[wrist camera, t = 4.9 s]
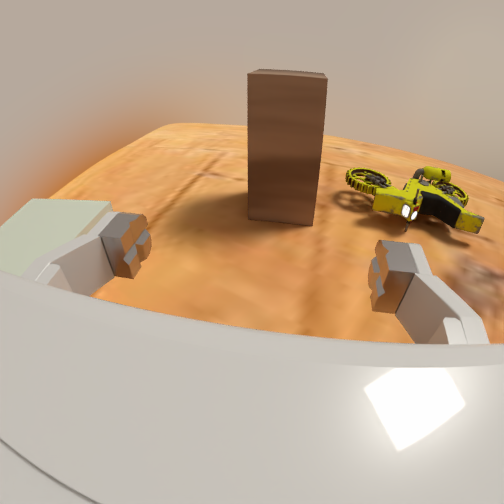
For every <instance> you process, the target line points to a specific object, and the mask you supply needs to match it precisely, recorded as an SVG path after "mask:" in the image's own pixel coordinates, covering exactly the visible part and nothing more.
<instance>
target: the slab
mask: <svg viewBox="0 0 504 504" xmlns="http://www.w3.org/2000/svg"><path fill="white" fill-rule="evenodd" d="M107 212H113V209H112V205H111V201H91V200H64V199H31V200H30V201H29V202H28V203H27V204H25V205H24V206H23V207H22V208H21V209H20V210H18V211H17V212H16V213H15V214H14V215H13V216H12V217H11V218H10V219H8V220H7V221H6V222H5V223H4V224H3V225H2V226H1V227H0V270H1V271H4V272H7V273H10V274H13V275H17V276H21V275H22V274H23V273H24V272H25V271H26V269H27V268H28V267H29V266H30V265H31V263H32V262H33V261H34V260H35V259H36V258H38V257H40V256H42V255H44V254H46V253H48V252H49V251H51V250H53V249H55V248H57V247H59V246H61V245H63V244H65V243H67V242H69V241H71V240H73V239H75V238H77V237H79V236H81V235H83V234H85V235H87V234H88V232H89V231H90V230H91V229H92V228H93V227H94V226H95V225H96V224H97V223H98V222H99V221H100V220H101V219H102V218H103V217H104V216H105V214H106V213H107Z"/></svg>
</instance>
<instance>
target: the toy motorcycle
mask: <svg viewBox="0 0 504 504" xmlns="http://www.w3.org/2000/svg"><path fill="white" fill-rule="evenodd" d="M421 174H422V175H421ZM420 175H421V179H419V177H420ZM358 176H365V178H361V177H358ZM423 176H424V177H425V178H426V179H430V181H425V180H422V179H423ZM356 179H360V180H362V181H364V183H362V182H360V181H358V180H356ZM432 180H435V181H433V182H432V185H431V181H432ZM450 180H451V173H450V171H449V170H445V169H440V168H435V167H430V166H426V167H424V168H422V169H418V170H417V171H416V172H415V174H414V176H413V178H410V179H409V181H408V183H406V184H405V186H404V188H403V190H398V189H397V188H395V187H394V186H391V182H390V180H389V179H388V177H386V176H385V175H384V174H381V173H380V172H377V171H375V170H371V169H366V168H359V167H358V168H353V169H350V170H348V171H347V173H346V182H347V184H348V185H350V187H351V188H352V187H353V188H354V189H355V190H358V191H360V192H364V193H366V194H372V195H374V196H375V197H374V202H373V206H372V210H374V211H379V212H384V213H389V214H394V215H399V216H402V217H404V218H405V219H406V220H407V222H406V223H407V224H406V227H405V232H406V231H407V228H408V225H409V224H410V223H411V222H412V220H414V219H416V216H417V214H426V215H433V216H435V217H437V218H439V219H440V220H442V221H443V222H445V223H446V224H448V225H449V226H451V227H452V228H456V229H460V230H464V231H468V232H472V233H475V234H478V233H479V231H480V228H481V226H482V224H483V222H484V217H481V216H479V215H476V214H474V213H471V212H468V211H466V210H465V209H464V207H465V205H467V202H468V199H469V197H468V195H466V193H465V192H464V190H462V189H461V188H460V187H458V186H456V185H454V184H452V183H449V182H450ZM371 184H373V185H371ZM374 185H375V186H374ZM455 194H457V195H458V196H459V197H457V196H456V195H455ZM452 196H453V197H452Z"/></svg>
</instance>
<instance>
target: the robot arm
mask: <svg viewBox="0 0 504 504" xmlns="http://www.w3.org/2000/svg"><path fill="white" fill-rule="evenodd" d="M147 225H148V223H147V219H146V217H145V216H144V215H143V214H134V213H124V212H107V213H106V214H105V216H104V217H103V218H102V219H101V220H100V221H99V222H98V223H97V224H96V225H95V226H94V227H93V228H92V229H91V230H90V231H89V232H88V234H87V235H85V234H83V235H81V236H79V237H77V238H75V239H73V240H71V241H69V242H67V243H65V244H63V245H61V246H59V247H57V248H55V249H53V250H51V251H49V252H48V253H46V254H44V255H42V256H40V257H38V258H36V259H35V260H34V261H33V262H32V263H31V265H30V266H29V267H28V268H27V269H26V271H25V272H24V273H23V274H22V275H21V276H17V275H13V274H10V273H7V272H4V271H1V270H0V504H504V344H490V343H489V340H488V337H487V334H486V331H485V328H484V325H483V322H482V319H481V318H480V317H479V316H478V315H477V314H476V313H475V312H474V311H473V310H472V309H471V308H470V307H469V306H468V305H467V304H466V303H465V302H464V301H463V300H462V299H461V298H460V297H459V296H458V295H457V294H456V293H455V292H454V291H452V290H451V289H450V288H449V287H448V286H447V285H446V284H445V283H444V282H443V281H442V280H440V279H439V278H438V277H437V276H433V275H432V272H431V269H430V267H429V264H428V262H427V259H426V257H425V254H424V252H423V249H422V247H421V245H419V244H414V243H403V242H394V241H386V240H378V242H377V244H376V247H375V253H376V257H375V258H373V259H372V260H371V264H370V267H369V273H368V284H369V287H370V288H371V290H372V293H371V296H370V298H371V305H372V311H374V312H383V313H392V314H395V316H396V317H397V318H398V320H399V321H400V323H401V324H402V325H403V327H404V328H405V330H406V331H407V332H408V334H409V335H410V337H411V338H412V340H413V341H414V342H415V344H409V343H388V342H371V341H357V340H345V339H334V338H323V337H313V336H304V335H295V334H287V333H279V332H271V331H264V330H257V329H250V328H243V327H237V326H230V325H224V324H218V323H212V322H206V321H201V320H195V319H190V318H184V317H179V316H174V315H169V314H164V313H159V312H154V311H149V310H144V309H140V308H135V307H131V306H126V305H122V304H118V303H113V302H109V301H105V300H101V299H97V298H93V297H89V296H90V295H91V294H92V293H94V292H95V291H97V290H98V289H99V288H101V287H102V286H103V285H105V284H106V283H107V282H109V281H110V280H111V279H113V278H114V276H116V277H123V278H129V279H134V277H135V276H136V274H137V273H138V271H139V270H140V268H141V264H140V262H142V261H144V260H145V259H147V257H148V256H149V254H150V250H151V236H150V234H149V233H148V232H147V230H146V227H147Z"/></svg>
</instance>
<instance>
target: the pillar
mask: <svg viewBox="0 0 504 504" xmlns="http://www.w3.org/2000/svg"><path fill="white" fill-rule="evenodd" d="M247 75H248V219H250V220H261V221H271V222H280V223H290V224H299V225H308V226H313V219H314V211H315V204H316V196H317V188H318V179H319V170H320V161H321V152H322V142H323V131H324V119H325V108H326V95H327V80H328V79H327V77H326V76H325V75H324V74H323V73H313V72H304V71H303V72H302V71H290V70H271V69H259V70H256V71H253V72H251V73H248V74H247Z"/></svg>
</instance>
